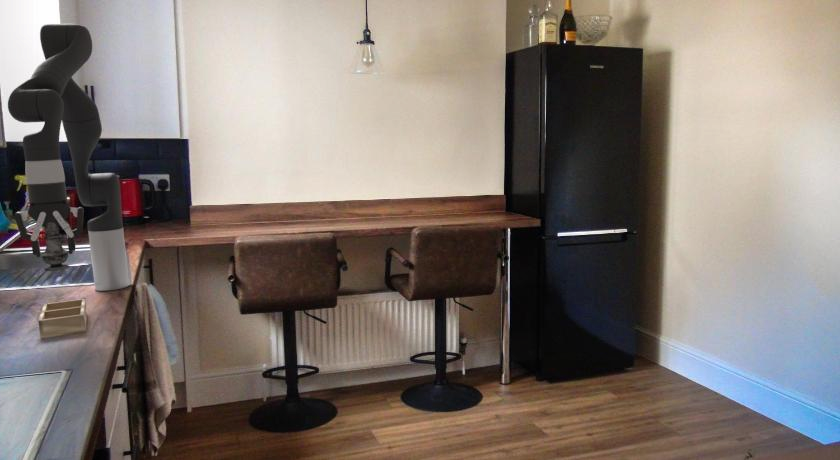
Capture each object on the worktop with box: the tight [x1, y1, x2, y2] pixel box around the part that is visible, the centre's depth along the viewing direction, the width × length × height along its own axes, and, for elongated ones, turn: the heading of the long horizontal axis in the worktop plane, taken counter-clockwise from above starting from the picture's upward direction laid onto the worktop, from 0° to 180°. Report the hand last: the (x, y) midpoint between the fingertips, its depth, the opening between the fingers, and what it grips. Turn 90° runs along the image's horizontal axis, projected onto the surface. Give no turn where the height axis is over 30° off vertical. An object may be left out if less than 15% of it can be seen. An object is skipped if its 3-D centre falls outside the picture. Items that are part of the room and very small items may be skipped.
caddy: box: [38, 298, 88, 339], centre depth 160 cm, size 17×9×4 cm, turn 25°
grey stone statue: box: [40, 222, 70, 272], centre depth 154 cm, size 6×6×12 cm
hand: (55, 254), depth 154 cm, fingers closed on grey stone statue, 6 cm apart
